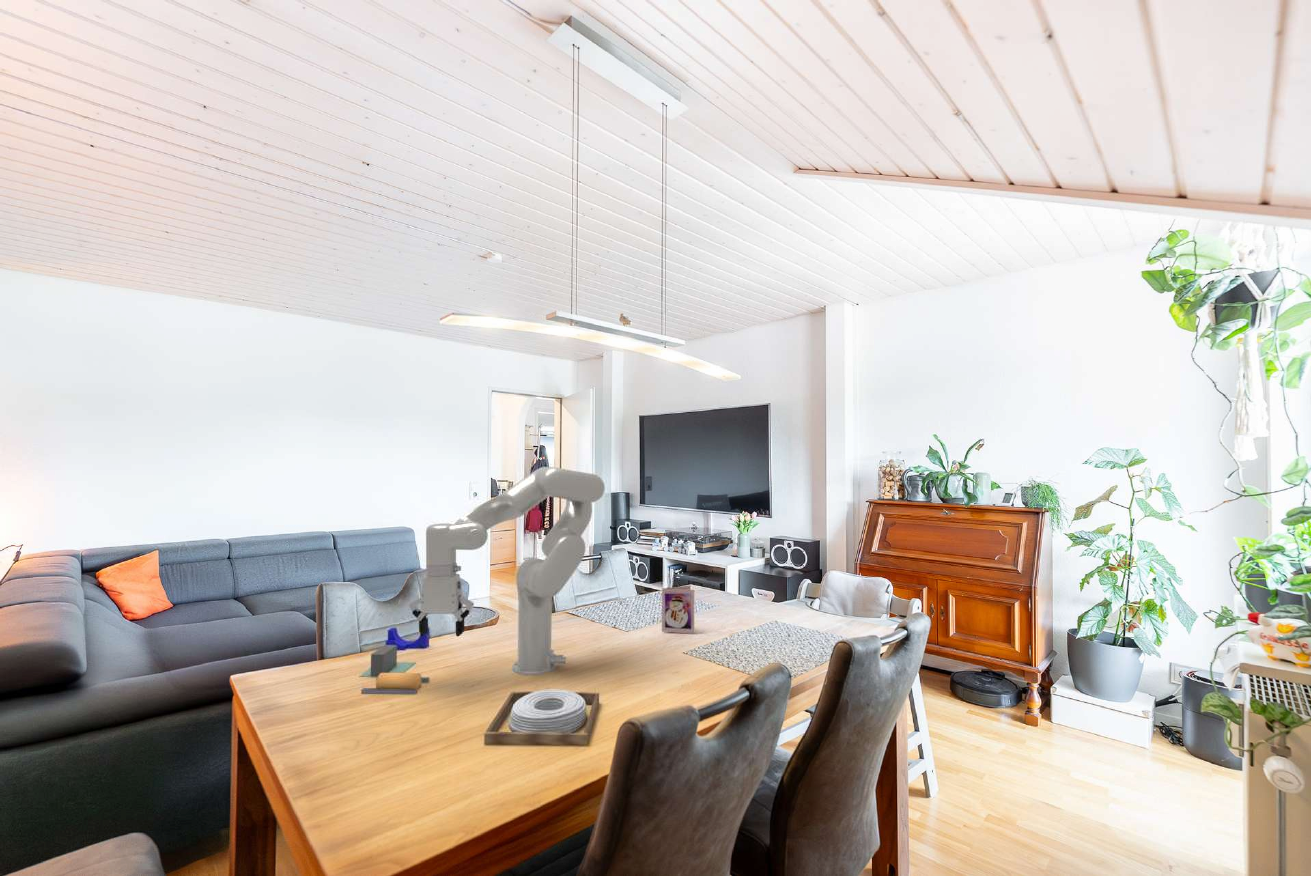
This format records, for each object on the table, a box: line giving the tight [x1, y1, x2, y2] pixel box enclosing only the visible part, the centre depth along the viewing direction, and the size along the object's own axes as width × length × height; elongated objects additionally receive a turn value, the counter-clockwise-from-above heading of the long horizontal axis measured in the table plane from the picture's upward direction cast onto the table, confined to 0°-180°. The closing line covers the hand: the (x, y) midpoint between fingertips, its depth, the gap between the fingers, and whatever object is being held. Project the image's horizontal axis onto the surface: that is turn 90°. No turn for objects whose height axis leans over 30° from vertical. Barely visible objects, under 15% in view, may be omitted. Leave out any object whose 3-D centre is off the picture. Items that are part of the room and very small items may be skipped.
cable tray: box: [483, 690, 600, 747], centre depth 132 cm, size 22×22×4 cm
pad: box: [358, 661, 417, 678], centre depth 166 cm, size 11×11×1 cm
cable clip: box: [385, 627, 430, 651], centre depth 186 cm, size 12×4×6 cm, turn 91°
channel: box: [360, 676, 431, 695], centre depth 153 cm, size 14×9×2 cm, turn 89°
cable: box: [508, 688, 587, 733], centre depth 133 cm, size 18×18×6 cm
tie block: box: [370, 644, 398, 676], centre depth 165 cm, size 4×8×6 cm, turn 179°
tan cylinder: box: [375, 672, 422, 690], centre depth 152 cm, size 10×4×4 cm, turn 89°
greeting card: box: [661, 585, 695, 634], centre depth 206 cm, size 11×7×15 cm, turn 80°
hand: (441, 634), depth 155 cm, fingers open, 9 cm apart
